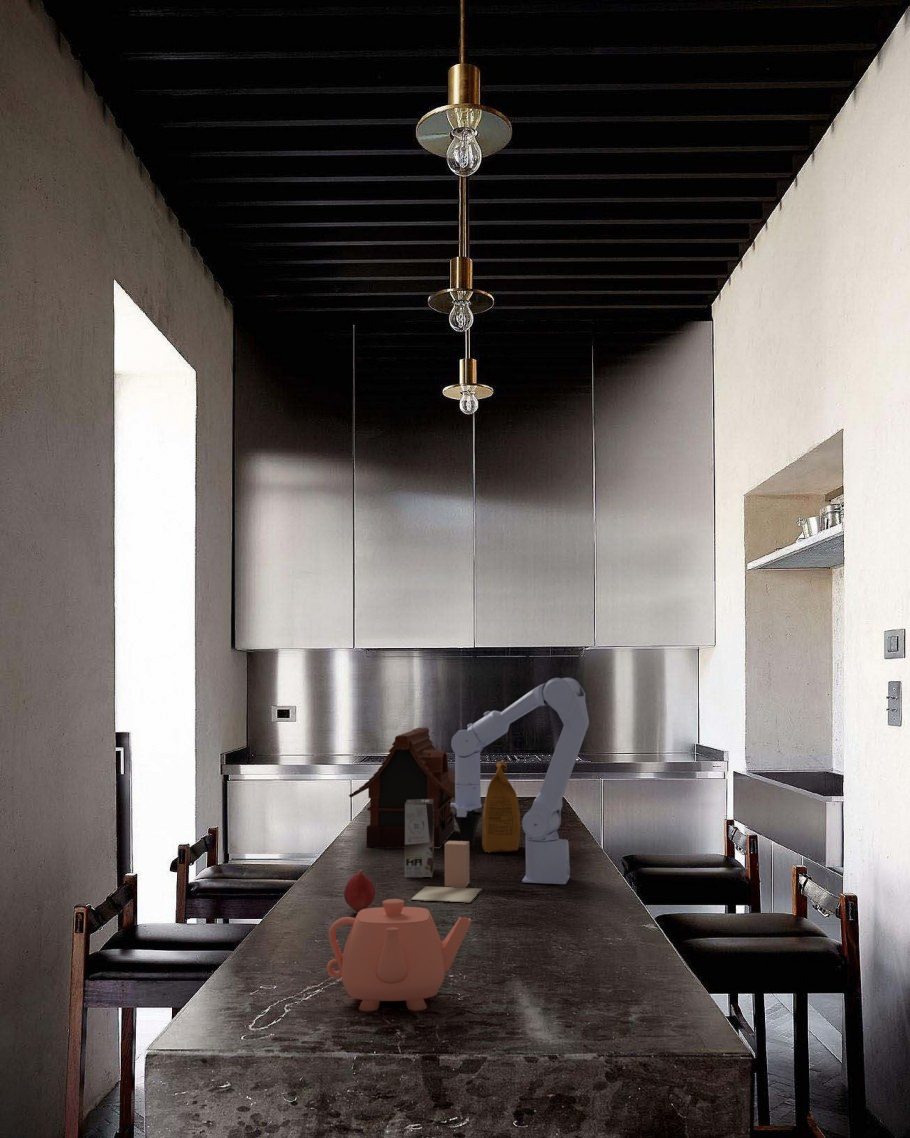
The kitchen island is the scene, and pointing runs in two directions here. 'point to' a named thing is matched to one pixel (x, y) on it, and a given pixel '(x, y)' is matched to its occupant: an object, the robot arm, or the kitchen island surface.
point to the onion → (359, 892)
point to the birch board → (447, 894)
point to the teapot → (394, 955)
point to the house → (409, 789)
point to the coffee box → (419, 838)
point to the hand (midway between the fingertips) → (468, 845)
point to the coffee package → (500, 815)
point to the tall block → (457, 863)
